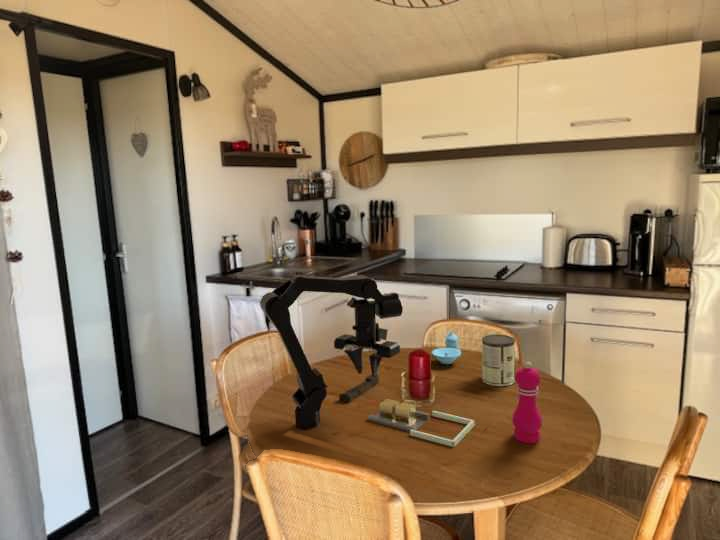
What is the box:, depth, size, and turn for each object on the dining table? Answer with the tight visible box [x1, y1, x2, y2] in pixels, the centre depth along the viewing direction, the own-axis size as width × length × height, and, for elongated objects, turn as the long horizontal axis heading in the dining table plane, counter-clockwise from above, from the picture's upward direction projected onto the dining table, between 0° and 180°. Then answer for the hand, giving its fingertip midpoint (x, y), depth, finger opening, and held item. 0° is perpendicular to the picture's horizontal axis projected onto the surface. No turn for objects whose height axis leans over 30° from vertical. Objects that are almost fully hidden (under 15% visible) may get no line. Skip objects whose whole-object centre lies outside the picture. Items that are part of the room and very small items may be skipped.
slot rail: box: [367, 409, 431, 433], centre depth 141 cm, size 10×14×2 cm
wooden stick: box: [338, 373, 380, 404], centre depth 161 cm, size 19×4×5 cm, turn 142°
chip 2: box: [395, 402, 417, 424], centre depth 140 cm, size 4×4×4 cm
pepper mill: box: [511, 361, 543, 444], centre depth 129 cm, size 7×7×20 cm
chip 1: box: [379, 398, 400, 420], centre depth 142 cm, size 4×4×4 cm
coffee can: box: [481, 334, 516, 387], centre depth 167 cm, size 10×10×14 cm
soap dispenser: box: [431, 331, 462, 366], centre depth 188 cm, size 18×10×9 cm, turn 158°
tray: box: [409, 410, 476, 448], centre depth 134 cm, size 13×12×2 cm
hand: (367, 374), depth 145 cm, fingers open, 4 cm apart
